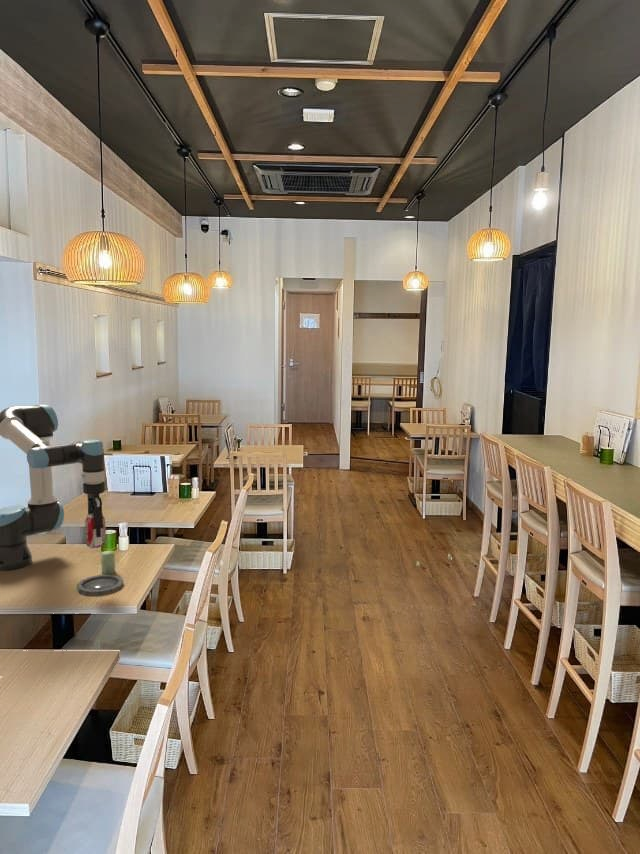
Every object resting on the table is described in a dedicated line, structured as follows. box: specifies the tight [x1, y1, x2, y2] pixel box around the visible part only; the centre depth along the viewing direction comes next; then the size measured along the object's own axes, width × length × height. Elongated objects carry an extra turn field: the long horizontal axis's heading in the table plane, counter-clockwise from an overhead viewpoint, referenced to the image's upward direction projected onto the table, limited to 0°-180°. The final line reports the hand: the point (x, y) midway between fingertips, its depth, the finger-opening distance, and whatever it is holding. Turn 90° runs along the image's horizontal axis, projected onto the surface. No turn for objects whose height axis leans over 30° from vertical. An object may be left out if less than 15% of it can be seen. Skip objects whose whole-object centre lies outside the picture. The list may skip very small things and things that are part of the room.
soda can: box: [84, 513, 107, 549], centre depth 226 cm, size 7×7×12 cm
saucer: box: [76, 574, 124, 596], centre depth 230 cm, size 16×16×1 cm
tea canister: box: [100, 550, 116, 575], centre depth 244 cm, size 5×5×8 cm
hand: (96, 541), depth 227 cm, fingers closed on soda can, 7 cm apart
